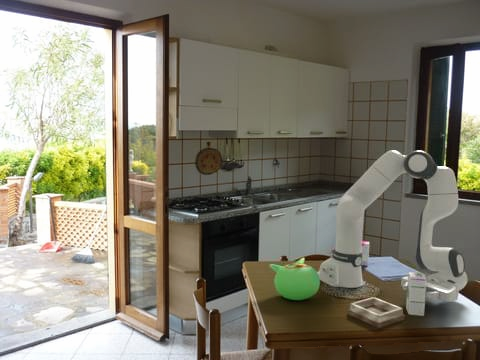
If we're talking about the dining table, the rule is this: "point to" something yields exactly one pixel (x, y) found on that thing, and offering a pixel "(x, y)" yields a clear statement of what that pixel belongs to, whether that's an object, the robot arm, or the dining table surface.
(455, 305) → the dining table surface
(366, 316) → the socket stand
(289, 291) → the toy bird
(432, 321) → the dining table surface
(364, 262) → the supplement box
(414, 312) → the syrup box
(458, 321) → the dining table surface
